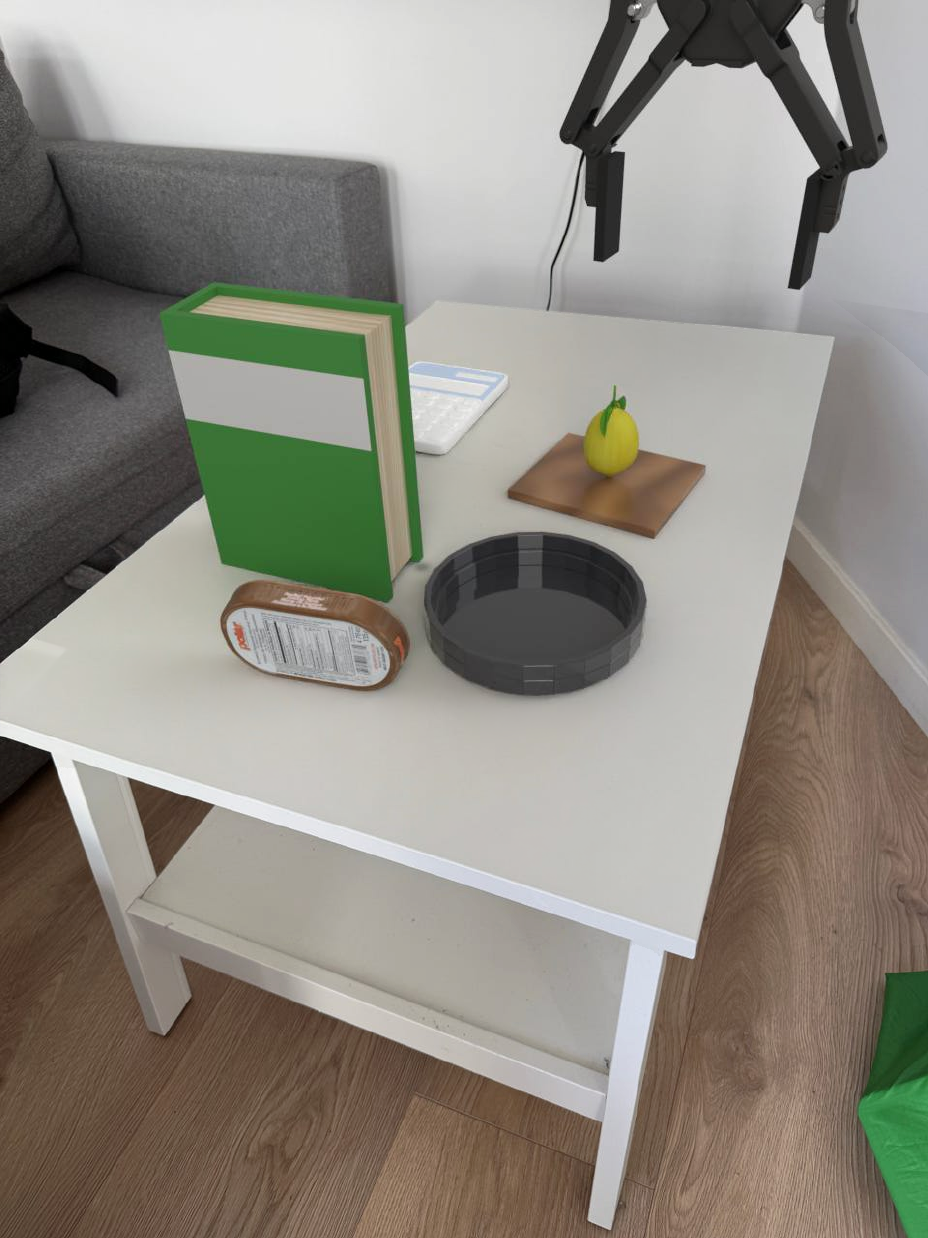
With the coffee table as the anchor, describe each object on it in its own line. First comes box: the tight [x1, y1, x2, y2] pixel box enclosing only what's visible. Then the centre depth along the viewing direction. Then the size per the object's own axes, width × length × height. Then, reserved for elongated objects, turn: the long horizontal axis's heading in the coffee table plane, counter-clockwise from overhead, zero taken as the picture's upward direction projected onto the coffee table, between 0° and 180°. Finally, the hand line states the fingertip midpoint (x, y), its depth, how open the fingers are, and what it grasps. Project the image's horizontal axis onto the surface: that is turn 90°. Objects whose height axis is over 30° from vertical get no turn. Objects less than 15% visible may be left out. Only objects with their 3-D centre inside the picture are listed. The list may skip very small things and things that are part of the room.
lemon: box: [583, 385, 640, 477], centre depth 91 cm, size 7×6×10 cm
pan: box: [423, 531, 648, 697], centre depth 77 cm, size 18×18×4 cm
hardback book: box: [158, 281, 424, 603], centre depth 79 cm, size 18×7×24 cm, turn 67°
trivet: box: [507, 432, 707, 539], centre depth 95 cm, size 16×14×1 cm
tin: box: [219, 579, 411, 692], centre depth 71 cm, size 15×3×8 cm, turn 74°
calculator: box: [408, 361, 509, 456], centre depth 109 cm, size 13×20×2 cm, turn 156°
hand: (698, 269), depth 62 cm, fingers open, 13 cm apart
